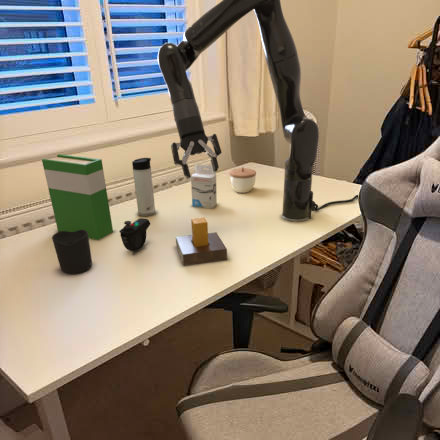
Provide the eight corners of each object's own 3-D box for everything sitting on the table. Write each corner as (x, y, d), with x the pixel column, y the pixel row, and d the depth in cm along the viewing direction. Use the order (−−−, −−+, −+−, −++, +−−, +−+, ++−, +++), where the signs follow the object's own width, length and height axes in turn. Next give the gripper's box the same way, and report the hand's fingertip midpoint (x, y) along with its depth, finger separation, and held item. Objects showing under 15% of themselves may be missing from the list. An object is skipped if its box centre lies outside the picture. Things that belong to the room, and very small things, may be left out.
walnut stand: (216, 242, 139) (216, 232, 137) (227, 259, 128) (226, 248, 127) (176, 247, 137) (175, 236, 135) (183, 265, 126) (182, 254, 124)
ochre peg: (206, 249, 135) (204, 217, 129) (208, 255, 131) (207, 222, 126) (193, 251, 134) (191, 218, 128) (195, 257, 131) (193, 223, 125)
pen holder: (75, 278, 121) (68, 245, 116) (52, 270, 125) (44, 238, 120) (100, 264, 128) (94, 232, 122) (77, 257, 132) (71, 226, 127)
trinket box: (231, 186, 189) (231, 164, 184) (256, 186, 187) (257, 164, 182) (228, 194, 180) (228, 171, 175) (254, 194, 178) (255, 171, 173)
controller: (120, 255, 133) (115, 224, 127) (142, 240, 142) (139, 210, 137) (132, 258, 131) (128, 226, 126) (154, 241, 141) (151, 211, 136)
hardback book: (58, 231, 150) (41, 159, 138) (73, 223, 156) (59, 154, 143) (98, 240, 143) (84, 165, 131) (113, 231, 149) (101, 159, 136)
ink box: (191, 206, 168) (189, 167, 161) (196, 202, 172) (194, 164, 165) (212, 208, 166) (211, 169, 158) (217, 204, 170) (216, 165, 162)
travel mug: (153, 216, 160) (147, 160, 149) (135, 216, 161) (128, 160, 151) (158, 210, 165) (153, 156, 155) (141, 210, 166) (135, 155, 156)
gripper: (166, 119, 123) (182, 177, 126) (214, 110, 127) (228, 167, 130) (162, 127, 131) (177, 181, 133) (207, 118, 134) (220, 171, 137)
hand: (202, 174), depth 132 cm, fingers open, 8 cm apart
